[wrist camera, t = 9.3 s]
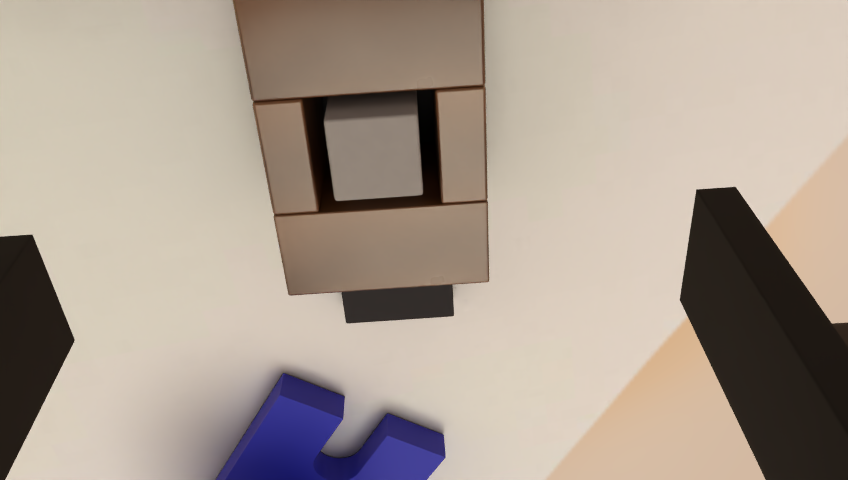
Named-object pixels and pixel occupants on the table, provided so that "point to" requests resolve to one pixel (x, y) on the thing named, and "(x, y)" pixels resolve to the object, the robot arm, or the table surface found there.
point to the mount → (310, 430)
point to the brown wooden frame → (307, 148)
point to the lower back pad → (401, 295)
